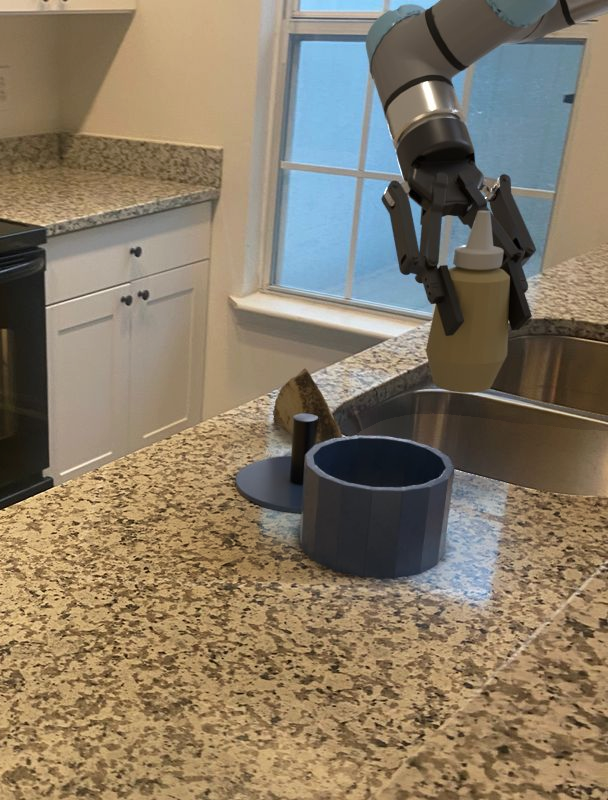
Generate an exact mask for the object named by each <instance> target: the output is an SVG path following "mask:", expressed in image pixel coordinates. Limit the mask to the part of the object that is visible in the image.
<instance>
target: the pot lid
mask: <svg viewBox="0 0 608 800" xmlns="http://www.w3.org/2000/svg"><path fill="white" fill-rule="evenodd" d="M317 422H318V418H317V416H315V415H313V414H306V413H302V414H297V415H295V416H294V417H293V432H292V434H291V452H290V455H287V456H274V457H269V458H264V459H259V460H257V461H253V462H251V463H249V464H247V465H245V466H243V467H242V468H241V469H240V470H239V471H238V472H237V474H236V475H235V488H236V490H237V492H238V493H239V494H240V495H241V496H242V497H243V498H245V499H246V500H248V501H249V502H251V503H253V504H256V505H258V506H260V507H262V508H263V507H264V508H267V509H270V510H275V511H279V512H286V513H293V514H301V509H302V494H303V478H304V462H305V454H306V453H307V452H308V451H309V450H310V449H311V448H312V447H313V446H314V445H316V436H317Z"/></svg>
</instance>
